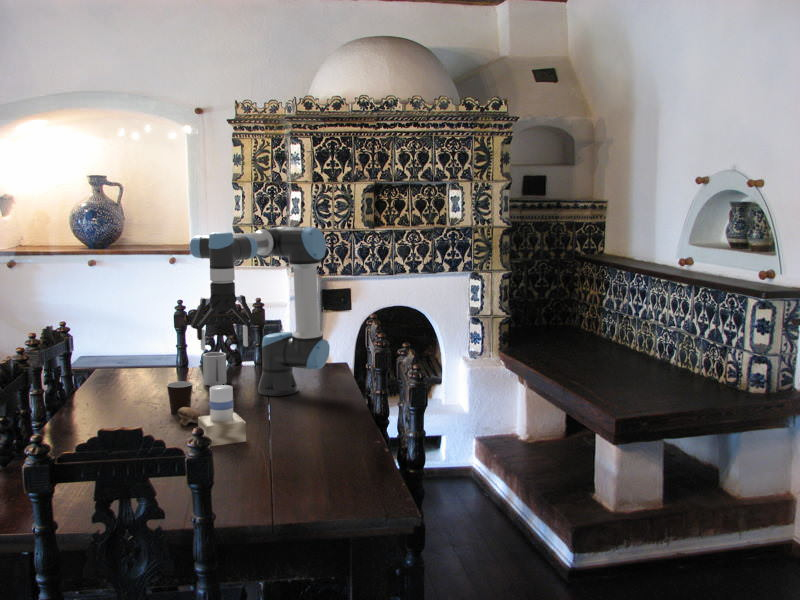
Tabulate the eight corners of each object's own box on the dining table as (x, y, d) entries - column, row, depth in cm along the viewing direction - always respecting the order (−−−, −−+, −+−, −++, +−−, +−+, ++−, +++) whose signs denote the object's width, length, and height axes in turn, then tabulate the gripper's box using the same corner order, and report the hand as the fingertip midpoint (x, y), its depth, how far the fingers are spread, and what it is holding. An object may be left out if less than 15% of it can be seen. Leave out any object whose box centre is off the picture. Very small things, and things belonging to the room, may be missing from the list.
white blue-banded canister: (230, 414, 239) (229, 384, 237) (236, 420, 232) (235, 389, 231) (207, 417, 235) (206, 386, 234) (212, 423, 229) (212, 391, 228)
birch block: (236, 430, 243) (235, 412, 242) (246, 441, 232) (245, 421, 231) (198, 435, 237) (198, 416, 236) (206, 446, 227) (206, 426, 226)
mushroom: (175, 419, 243) (183, 402, 246) (170, 422, 250) (179, 405, 253) (197, 429, 245) (205, 412, 248) (193, 432, 252) (200, 415, 255)
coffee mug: (186, 416, 259) (185, 387, 257) (163, 414, 260) (162, 386, 259) (201, 407, 270) (200, 380, 269) (179, 406, 272) (178, 378, 270)
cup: (216, 379, 313) (215, 351, 312) (231, 382, 308) (230, 354, 306) (198, 383, 306) (198, 354, 304) (213, 386, 301) (213, 357, 299)
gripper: (257, 278, 245) (259, 342, 248) (179, 282, 233) (182, 349, 236) (264, 280, 238) (266, 346, 241) (184, 285, 227) (187, 353, 230)
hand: (224, 347), depth 239 cm, fingers open, 13 cm apart
